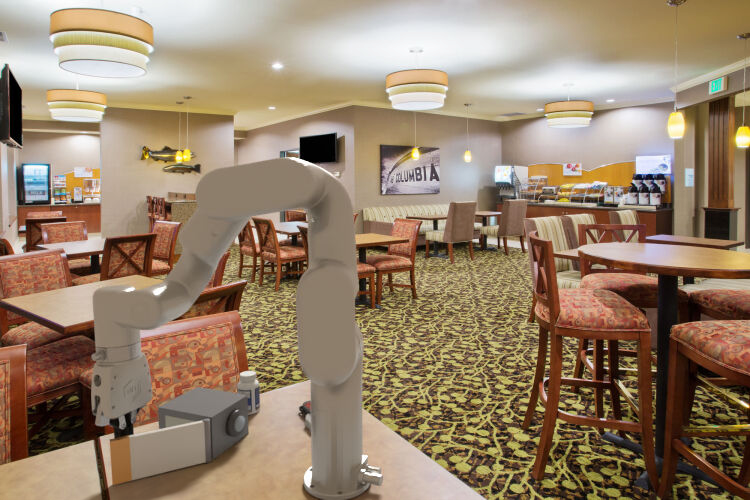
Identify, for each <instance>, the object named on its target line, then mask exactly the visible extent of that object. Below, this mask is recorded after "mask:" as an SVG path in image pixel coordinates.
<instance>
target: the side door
mask: <svg viewBox="0 0 750 500" xmlns="http://www.w3.org/2000/svg"><path fill="white" fill-rule="evenodd" d="M109 451H110V452H109V453H110V465H111V466H110V467H111V483H112V486H116V485H120V484H122V483H127V482H131V481H134V480H139V479H143V478H147V477H150V476H156V475H159V474H164V473H167V472H172V471H175V470H179V469H185V468H187V467H192V466H196V465H200V464H204V463H207V464H208V463H211V462H212V461H213V460H212V459H211V434H210V419H203V420H201V421H197V422H192V423H187V424H182V425H177V426H172V427H168V428H163V429H159V428H158V429H154V430H149V431H144V432H140V433H134V435H128V436H123V437H119V438H109Z"/></svg>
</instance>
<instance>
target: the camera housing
mask: <svg viewBox="0 0 750 500" xmlns="http://www.w3.org/2000/svg"><path fill="white" fill-rule="evenodd" d="M157 415H158V429H163V428H168V427H172V426H177V425H182V424H187V423H192V422H197V421H201V420H203V419H210V434H211V459H212V461H213V460H215V459H216V458H217V457H219V456H220V455H222V454H223V453H224V452H226V451H227V450H229V449H230V448H231V447H232V446H234V445H235V444H236V443H238V442H239V441H241V439H244V437H246V436H247V435H249V415H248V399H247V395H243V394H237V392H231V391H226V390H225V391H223V390H218V389H212V388H207V387H201V386H196V387H194V388H192V389H190V390H188V391H186V392H185V393H183V394H181V395H179V396H177V397H175V398H173V399H171V400H170V401H167V402H165V403H163V404H161V405H159V406H158V407H157Z"/></svg>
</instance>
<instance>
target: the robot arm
mask: <svg viewBox="0 0 750 500" xmlns="http://www.w3.org/2000/svg"><path fill="white" fill-rule="evenodd" d="M194 195H195V196H194V198H195V199H194V200H195V202H196V205H197V208H196V209H195V211H194V212H193V213H192V214H191V217H190V218H189V219H188V220H187V221H186V223H185V224H184V225H183V227H182V228H181V230H180V231H179V232H178V237H177V238H178V241H179V243H180V245H181V246H182V248H181V249H182V251H181V254H180V256H179V259H178V260H177V262H176V263H175V265H174V267H173V268H172V269H171V270H170V272H169V273H168V274H167V276H166V277H165V278H164V280H163V281H162V282H158V283H155V284H153V285H150V286H147V287H144V288H141V289H137V288H136V287H135V286H133V285H127V284H120V285H119V284H118V285H117V284H116V285H108V286H102V287H100V288H97V289H95V290H94V292H93V294H92V312H93V313H92V315H93V327H94V342H95V344H94V345H95V353H92V354H91V359H92V361H94V362H95V361H96V362H95V363H94V364H93V369H92V376H91V391H90V393H91V399H90V400H91V411H92V414H93V416H95V421H94V424H95V425H96V426H97V427H105V426H110V427H111V428H113V437H114V438H119V437H123V436H128V435H134V434H135V432H134V424H135V423H136V422H137V415H138V414H139V413H140V410H142V409H143V408H144V407H146V406H147V404H149V403H150V402H151V400H152V398H153V387H152V379H151V372H150V371H151V370H150V367H149V363H148V359H147V356H146V354H145V353H144V352H142V340H141V338H142V337H141V331H152V330H156V329H158V328H160V327H162V326H164V325H167V324H168V323H170V322H171V321H173V320H176V319H177V318H179V317H181V316H183V315H184V314H185V313H187V312H188V311H189V310H190V308H191V307H192V306H193V305H194V304H195V302H196V301H197V299H199V297H200V295H201V294H202V293H203V292H204V290H205V289H206V288H207V286H208V285H209V283H210V281H211V280H212V278H213V276H214V274H215V272H216V270H217V268H218V266H219V262H220V261H221V259H222V258H223V256H224V255H225V253H226V252H227V251H228V250H229V248H230V247H231V246H232V244H233V243H234V241H235V240H237V238H238V236H239V235H240V233H241V232H242V230H243V229H244V228H245V227H246V225H247V224H248V222H250V220H251V219H252V218H253V217H256V216H263V215H269V214H274V213H275V214H276V213H280V212H285V211H296V210H303V211H304V212H305V214H306V218H307V245H308V266H307V267H308V268H307V269H306V270H305V271H304V273H303V274H302V275H301V277H300V279H299V281H298V283H297V288H296V295H295V309H296V310H295V311H296V330H297V333H296V334H297V352H298V353H297V354H298V360H299V365H300V368H301V370H302V372H303V374H304V375H305V377H306V378H307V379H308V380H309V381H310V400H311V432H310V441H311V442H310V443H311V444H310V445H311V466H310V467H309V468H307V470H306V471H305V473H304V475H303V486H304V490H305V491H306V492H307V493H308V494H309V495H311V496H313V497H314V498H316V499H320V500H349V499H353V498H356V497H358V496H359V495H362V494H363V493H364V492H365V491H367V489H369V487H370V485H374V486H378V487H381V486H382V485H383V482H384V475H383V474H382V473H381V472H382V468H381V467H380V466H371V465H370V464H369V462H368V455H364V454H363V452H364V451H363V446H364V445H363V440H364V439H363V375H364V374H363V373H364V371H363V369H364V365H363V364H364V337H363V332H362V330H361V328H360V325H359V324H358V323H357V322H356V298H357V295H358V293H359V289H360V285H359V283H360V282H359V275H358V274H359V273H358V262H357V261H358V260H357V241H356V231H355V228H356V227H355V215H354V206H353V203H352V200H351V197H350V195H349V192H348V191H347V188H346V187H345V186H344V185H343V183H342V182H341V180H339V178H338V177H336V176H335V175H334V174H332V173H331V172H329V171H328V170H326V169H325V168H322V167H321V166H318V165H316V164H315V163H312V162H309V161H306V160H304V159H300V158H297V157H289V156H285V157H278V158H277V157H275V158H271V159H264V160H262V161H261V160H260V161H255V162H249V163H244V164H237V165H231V166H226V167H225V166H224V167H219V168H215V169H212V170H210V171H209V172H207V173H205V174H204V175H203V176H202V177H201V178H200V180H199V181H198V182H197V185H196V188H195V193H194ZM114 438H113V439H114Z"/></svg>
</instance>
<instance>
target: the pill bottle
mask: <svg viewBox="0 0 750 500" xmlns="http://www.w3.org/2000/svg"><path fill="white" fill-rule="evenodd" d="M236 390H237V391H236V393H237V394H243V395H247V399H248V416H251V415H254V414H257V413H258V412H259V411H260V410H261V395H260V394H261V393H260V391H261V390H260V382H259V380H258V379H257V372H256V371H255V370H245V371H242V372H240V373H239V381H238V383H236Z"/></svg>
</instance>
